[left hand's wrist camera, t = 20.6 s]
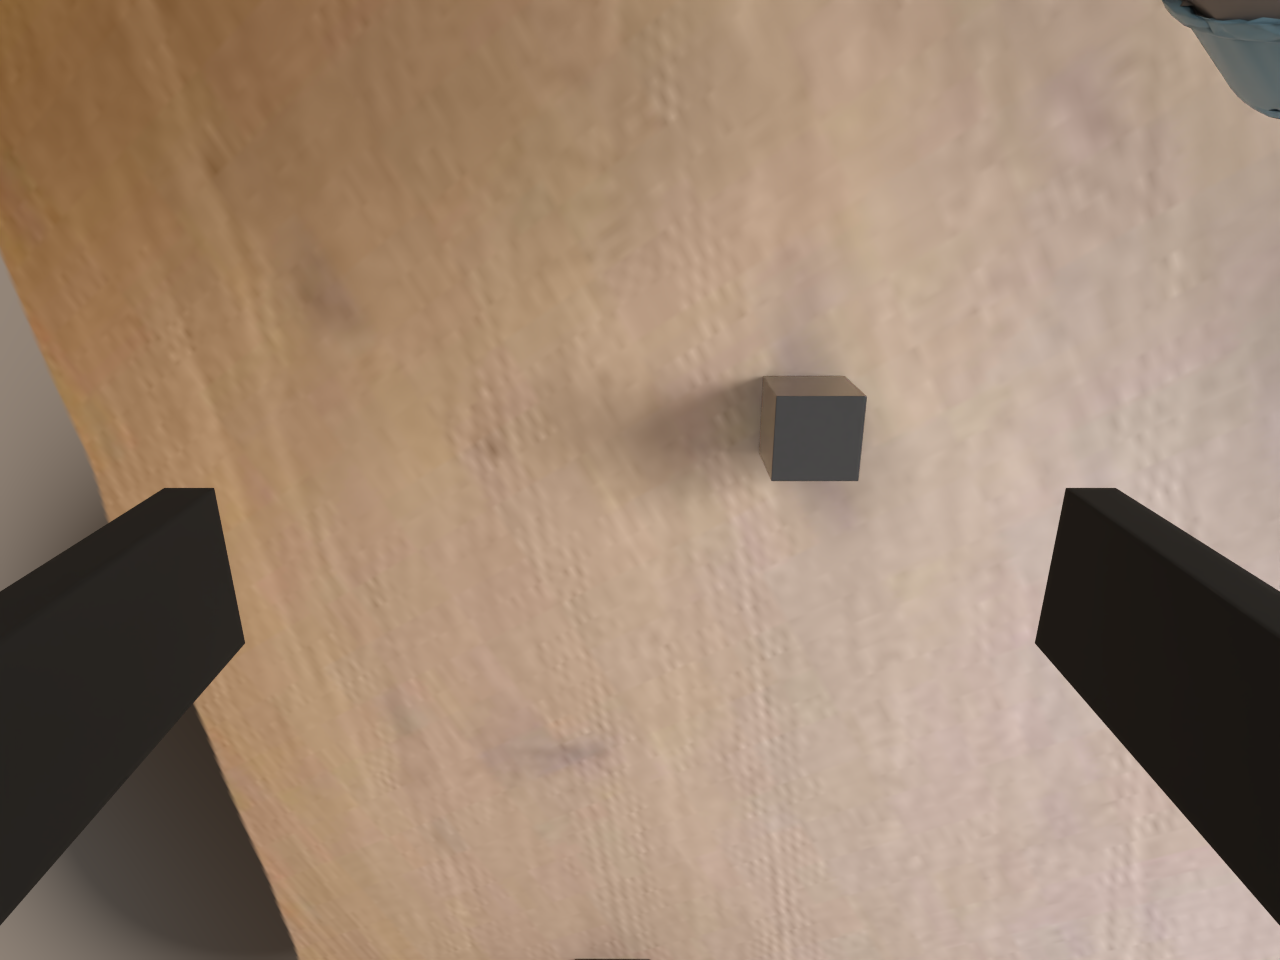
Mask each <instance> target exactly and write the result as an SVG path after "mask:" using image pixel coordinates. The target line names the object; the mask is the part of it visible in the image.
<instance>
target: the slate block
mask: <svg viewBox="0 0 1280 960" xmlns="http://www.w3.org/2000/svg"><path fill="white" fill-rule="evenodd" d="M866 401H867V396H866V395H865V394H864V393H863V392H862V391H860V390H859V389H858V388H857V387H856V386H855V385H854V384H853V383H852V382H851V381H850V380H848V379H847V378H846V377H845V376H763V390H762V408H761V426H760V444H759V454H760V457H761V459H762V461H763V463H764V465H765V468H766V470H767V472H768V474H769V477H770V479H771V481H858V479H859V469H860V460H861V450H862V440H863V430H864V420H865V411H866Z"/></svg>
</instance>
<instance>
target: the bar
mask: <svg viewBox="0 0 1280 960" xmlns="http://www.w3.org/2000/svg"><path fill="white" fill-rule="evenodd" d="M575 960H638V959H575Z"/></svg>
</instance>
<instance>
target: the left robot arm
mask: <svg viewBox="0 0 1280 960" xmlns="http://www.w3.org/2000/svg"><path fill="white" fill-rule="evenodd" d="M1162 1H1163V3H1164V6H1165V8H1166V9H1167V10H1168V11H1169V13H1170V14H1171V15H1172V16H1173V17H1174V18H1175V19H1177V20H1178V21H1179V22H1181V23H1182V24H1183V25H1184V26H1187V27H1190V28H1191V29H1192V30H1193V32H1194V33H1195V35H1196V36H1197V38H1198V39H1199V41H1200V42H1201V44H1202V45H1203V47H1204V48H1205V50H1206V51H1207V53H1208V54H1209V56H1210V57H1211V59H1212V61H1213V62H1214V64H1215V65H1216V67H1217V68H1218V70H1219V71H1220V73H1221V74H1222V76H1223V77H1224V79H1225V80H1226V82H1227V83H1228V85H1229V86H1230V88H1231V89H1232V90H1233V91H1234V93H1235V94H1236V95H1237V96H1238V97H1239V98H1240V99H1241V100H1242V101H1243V102H1244V103H1246V104H1247V105H1249V106H1250V107H1252V108H1253V109H1255V110H1257V111H1258V112H1260V113H1262V114H1265V115H1267V116H1269V117H1273V118H1278V119H1280V0H1162ZM244 644H245V640H244V635H243V630H242V625H241V620H240V615H239V610H238V605H237V600H236V595H235V590H234V585H233V580H232V575H231V570H230V565H229V560H228V555H227V550H226V545H225V540H224V535H223V530H222V525H221V520H220V515H219V510H218V505H217V500H216V495H215V490H214V488H164V489H162V490H160V491H159V492H157V493H156V494H154V495H153V496H151V497H149V498H148V499H146V500H145V501H143V502H141V503H140V504H138V505H137V506H135V507H134V508H132V509H130V510H129V511H127V512H126V513H124V514H122V515H121V516H119V517H118V518H116V519H115V520H113V521H111V522H110V523H108V524H107V525H105V526H103V527H102V528H100V529H99V530H97V531H96V532H94V533H92V534H91V535H89V536H88V537H86V538H84V539H83V540H81V541H80V542H78V543H77V544H75V545H73V546H72V547H70V548H69V549H67V550H66V551H64V552H62V553H61V554H59V555H58V556H56V557H54V558H53V559H51V560H50V561H48V562H46V563H45V564H43V565H42V566H40V567H39V568H37V569H35V570H34V571H32V572H31V573H29V574H27V575H26V576H24V577H23V578H21V579H20V580H18V581H16V582H15V583H13V584H12V585H10V586H8V587H7V588H5V589H4V590H2V591H1V592H0V925H1V924H2V923H3V922H4V920H5V919H6V918H7V917H8V916H9V915H10V913H11V912H12V911H13V910H14V909H15V908H16V907H17V905H18V904H19V903H20V902H21V901H22V900H23V898H24V897H25V896H26V895H27V894H28V893H29V892H30V890H31V889H32V888H33V887H34V886H35V885H36V884H37V882H38V881H39V880H40V879H41V878H42V877H43V875H44V874H45V873H46V872H47V871H48V870H49V869H50V867H51V866H52V865H53V864H54V863H55V862H56V860H57V859H58V858H59V857H60V856H61V855H62V854H63V852H64V851H65V850H66V849H67V848H68V847H69V846H70V844H71V843H72V842H73V841H74V840H75V839H76V837H77V836H78V835H79V834H80V833H81V832H82V830H83V829H84V828H85V827H86V826H87V825H88V824H89V822H90V821H91V820H92V819H93V818H94V817H95V816H96V814H97V813H98V812H99V811H100V810H101V809H102V807H103V806H104V805H105V804H106V803H107V802H108V801H109V799H110V798H111V797H112V796H113V795H114V794H115V792H116V791H117V790H118V789H119V788H120V787H121V786H122V784H123V783H124V782H125V781H126V780H127V779H128V777H129V776H130V775H131V774H132V773H133V772H134V771H135V769H136V768H137V767H138V766H139V765H140V764H141V762H142V761H143V760H144V759H145V758H146V757H147V756H148V754H149V753H150V752H151V751H152V750H153V749H154V748H155V746H156V745H157V744H158V743H159V742H160V741H161V739H162V738H163V737H164V736H165V735H166V734H167V733H168V731H169V730H170V729H171V728H172V727H173V726H174V724H175V723H176V722H177V721H178V720H179V719H180V718H181V716H182V715H183V714H184V713H185V712H186V711H187V709H188V708H189V707H190V706H191V705H192V704H193V703H194V701H195V700H196V699H197V698H198V697H199V696H200V694H201V693H202V692H203V691H204V690H205V689H206V688H207V686H208V685H209V684H210V683H211V682H212V681H213V679H214V678H215V677H216V676H217V675H218V674H219V673H220V671H221V670H222V669H223V668H224V667H225V666H226V664H227V663H228V662H229V661H230V660H231V659H232V658H233V656H234V655H235V654H236V653H237V652H238V651H239V650H240V648H241V647H242V646H243V645H244ZM1035 644H1036V645H1037V646H1038V647H1039V648H1040V650H1041V651H1042V652H1043V653H1044V654H1045V655H1046V656H1047V658H1048V659H1049V660H1050V661H1051V662H1052V663H1053V664H1054V666H1055V667H1056V668H1057V669H1058V670H1059V671H1060V673H1061V674H1062V675H1063V676H1064V677H1065V678H1066V679H1067V681H1068V682H1069V683H1070V684H1071V685H1072V686H1073V688H1074V689H1075V690H1076V691H1077V692H1078V693H1079V694H1080V696H1081V697H1082V698H1083V699H1084V700H1085V701H1086V703H1087V704H1088V705H1089V706H1090V707H1091V708H1092V709H1093V711H1094V712H1095V713H1096V714H1097V715H1098V716H1099V718H1100V719H1101V720H1102V721H1103V722H1104V723H1105V724H1106V726H1107V727H1108V728H1109V729H1110V730H1111V731H1112V733H1113V734H1114V735H1115V736H1116V737H1117V738H1118V739H1119V741H1120V742H1121V743H1122V744H1123V745H1124V746H1125V748H1126V749H1127V750H1128V751H1129V752H1130V753H1131V754H1132V756H1133V757H1134V758H1135V759H1136V760H1137V761H1138V762H1139V764H1140V765H1141V766H1142V767H1143V768H1144V769H1145V771H1146V772H1147V773H1148V774H1149V775H1150V776H1151V777H1152V779H1153V780H1154V781H1155V782H1156V783H1157V784H1158V786H1159V787H1160V788H1161V789H1162V790H1163V791H1164V792H1165V794H1166V795H1167V796H1168V797H1169V798H1170V799H1171V801H1172V802H1173V803H1174V804H1175V805H1176V806H1177V807H1178V809H1179V810H1180V811H1181V812H1182V813H1183V814H1184V816H1185V817H1186V818H1187V819H1188V820H1189V821H1190V822H1191V824H1192V825H1193V826H1194V827H1195V828H1196V829H1197V831H1198V832H1199V833H1200V834H1201V835H1202V836H1203V837H1204V839H1205V840H1206V841H1207V842H1208V843H1209V844H1210V846H1211V847H1212V848H1213V849H1214V850H1215V851H1216V852H1217V854H1218V855H1219V856H1220V857H1221V858H1222V859H1223V860H1224V862H1225V863H1226V864H1227V865H1228V866H1229V867H1230V869H1231V870H1232V871H1233V872H1234V873H1235V874H1236V875H1237V877H1238V878H1239V879H1240V880H1241V881H1242V882H1243V884H1244V885H1245V886H1246V887H1247V888H1248V889H1249V890H1250V892H1251V893H1252V894H1253V895H1254V896H1255V897H1256V899H1257V900H1258V901H1259V902H1260V903H1261V904H1262V905H1263V907H1264V908H1265V909H1266V910H1267V911H1268V912H1269V914H1270V915H1271V916H1272V917H1273V918H1274V919H1275V920H1276V922H1277V923H1278V924H1279V925H1280V592H1279V591H1278V590H1276V589H1275V588H1273V587H1272V586H1270V585H1268V584H1267V583H1265V582H1264V581H1262V580H1260V579H1259V578H1257V577H1256V576H1254V575H1253V574H1251V573H1249V572H1248V571H1246V570H1245V569H1243V568H1241V567H1240V566H1238V565H1237V564H1235V563H1234V562H1232V561H1230V560H1229V559H1227V558H1226V557H1224V556H1222V555H1221V554H1219V553H1218V552H1216V551H1215V550H1213V549H1211V548H1210V547H1208V546H1207V545H1205V544H1203V543H1202V542H1200V541H1199V540H1197V539H1196V538H1194V537H1192V536H1191V535H1189V534H1188V533H1186V532H1184V531H1183V530H1181V529H1180V528H1178V527H1177V526H1175V525H1173V524H1172V523H1170V522H1169V521H1167V520H1165V519H1164V518H1162V517H1161V516H1159V515H1158V514H1156V513H1154V512H1153V511H1151V510H1150V509H1148V508H1146V507H1145V506H1143V505H1142V504H1140V503H1139V502H1137V501H1135V500H1134V499H1132V498H1131V497H1129V496H1127V495H1126V494H1124V493H1123V492H1121V491H1120V490H1118V489H1116V488H1066V490H1065V495H1064V500H1063V505H1062V510H1061V515H1060V520H1059V525H1058V530H1057V535H1056V540H1055V545H1054V550H1053V555H1052V560H1051V565H1050V570H1049V575H1048V580H1047V585H1046V590H1045V595H1044V600H1043V605H1042V610H1041V615H1040V620H1039V625H1038V630H1037V635H1036V640H1035Z"/></svg>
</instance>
